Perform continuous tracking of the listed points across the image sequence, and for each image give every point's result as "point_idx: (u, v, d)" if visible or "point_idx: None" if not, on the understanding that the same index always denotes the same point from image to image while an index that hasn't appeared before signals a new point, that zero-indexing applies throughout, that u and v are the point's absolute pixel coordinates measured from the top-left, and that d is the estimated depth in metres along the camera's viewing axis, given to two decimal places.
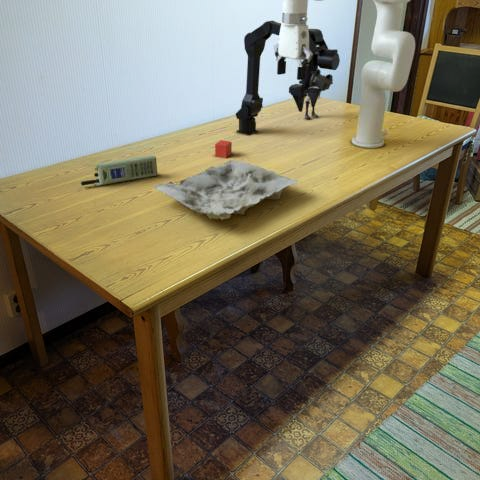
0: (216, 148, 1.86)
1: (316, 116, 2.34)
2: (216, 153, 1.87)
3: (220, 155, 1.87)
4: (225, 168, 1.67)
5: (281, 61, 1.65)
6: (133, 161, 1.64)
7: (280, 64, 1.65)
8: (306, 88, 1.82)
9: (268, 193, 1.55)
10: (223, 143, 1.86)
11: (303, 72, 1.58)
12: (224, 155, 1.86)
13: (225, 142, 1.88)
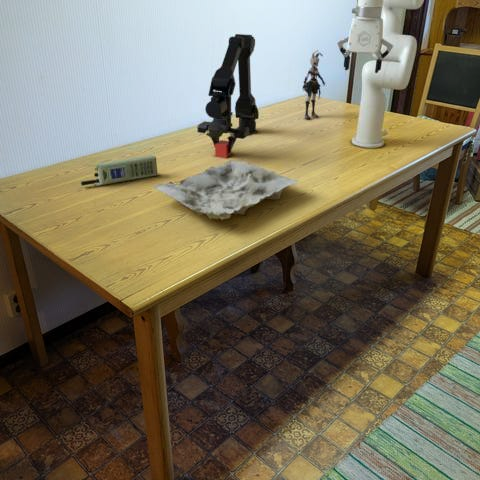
0: (216, 148, 1.86)
1: (316, 116, 2.34)
2: (216, 153, 1.87)
3: (220, 155, 1.87)
4: (225, 168, 1.67)
5: (378, 58, 1.61)
6: (133, 161, 1.64)
7: None
8: (203, 127, 1.84)
9: (268, 193, 1.55)
10: (223, 143, 1.86)
11: None
12: (224, 155, 1.86)
13: (225, 142, 1.88)
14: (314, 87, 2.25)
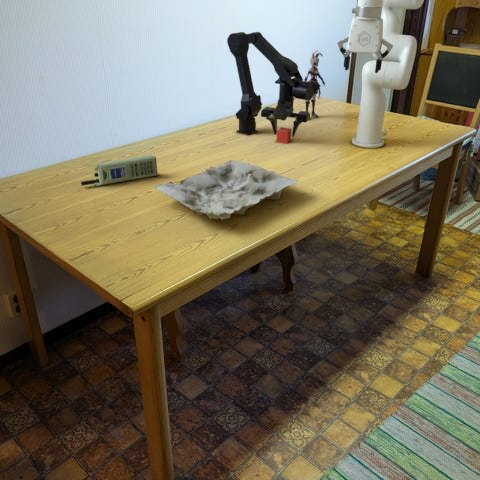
0: (278, 134, 2.01)
1: (316, 116, 2.34)
2: (278, 139, 2.02)
3: (281, 141, 2.02)
4: (225, 168, 1.67)
5: (378, 58, 1.61)
6: (133, 161, 1.64)
7: None
8: (267, 112, 1.99)
9: (268, 193, 1.55)
10: (284, 130, 2.02)
11: None
12: (285, 141, 2.01)
13: (286, 128, 2.03)
14: (314, 87, 2.25)
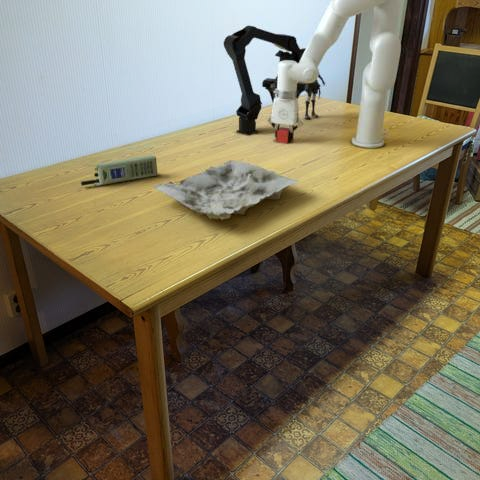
0: (278, 134, 2.01)
1: (316, 116, 2.34)
2: (278, 139, 2.02)
3: (281, 141, 2.02)
4: (225, 168, 1.67)
5: None
6: (133, 161, 1.64)
7: None
8: (268, 82, 2.13)
9: (268, 193, 1.55)
10: (284, 130, 2.01)
11: None
12: (285, 141, 2.01)
13: (286, 128, 2.03)
14: (314, 87, 2.25)
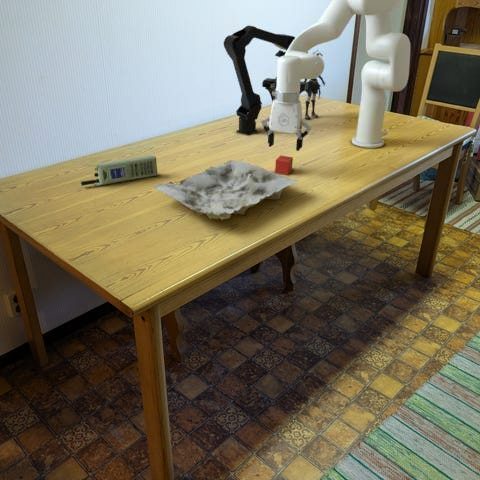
0: (277, 164, 1.73)
1: (316, 116, 2.34)
2: (276, 169, 1.74)
3: (281, 172, 1.73)
4: (225, 168, 1.67)
5: None
6: (133, 161, 1.64)
7: None
8: (268, 82, 2.13)
9: (268, 193, 1.55)
10: (284, 159, 1.73)
11: None
12: (285, 172, 1.73)
13: (286, 157, 1.74)
14: (314, 87, 2.25)
